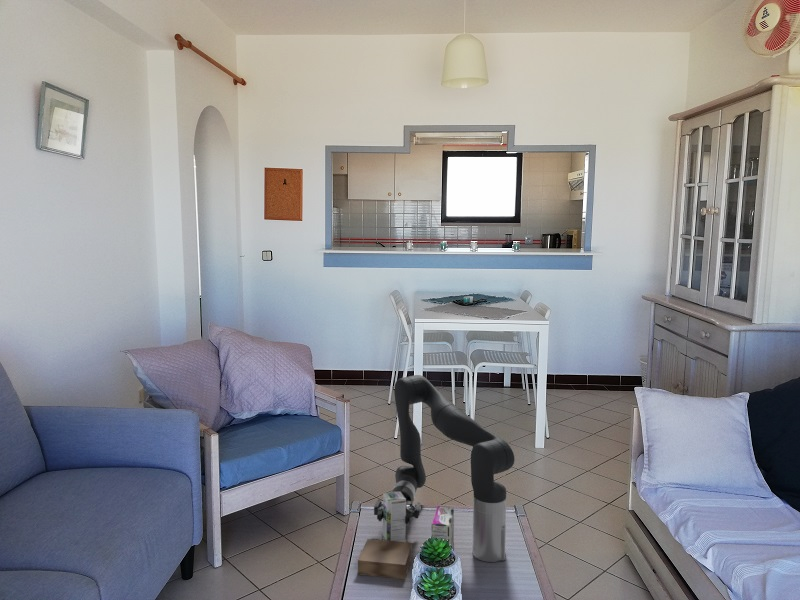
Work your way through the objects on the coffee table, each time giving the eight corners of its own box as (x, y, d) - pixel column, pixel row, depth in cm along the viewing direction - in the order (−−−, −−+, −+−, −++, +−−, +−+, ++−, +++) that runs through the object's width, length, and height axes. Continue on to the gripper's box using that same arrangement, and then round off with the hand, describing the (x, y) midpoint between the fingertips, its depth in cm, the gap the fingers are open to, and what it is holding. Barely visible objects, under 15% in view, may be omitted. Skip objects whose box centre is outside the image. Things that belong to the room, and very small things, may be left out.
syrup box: (382, 539, 186) (381, 492, 184) (400, 536, 188) (400, 490, 186) (387, 548, 181) (387, 500, 179) (406, 545, 182) (406, 498, 181)
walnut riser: (412, 556, 176) (412, 542, 176) (405, 579, 164) (405, 564, 164) (367, 551, 178) (367, 538, 178) (357, 574, 167) (357, 560, 166)
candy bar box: (436, 561, 174) (437, 505, 172) (454, 562, 173) (454, 506, 171) (430, 582, 163) (431, 523, 161) (449, 585, 162) (450, 525, 160)
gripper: (380, 483, 198) (369, 505, 182) (424, 486, 196) (417, 509, 180) (380, 505, 199) (369, 529, 183) (424, 509, 197) (417, 533, 180)
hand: (393, 519), depth 181 cm, fingers closed on syrup box, 7 cm apart
